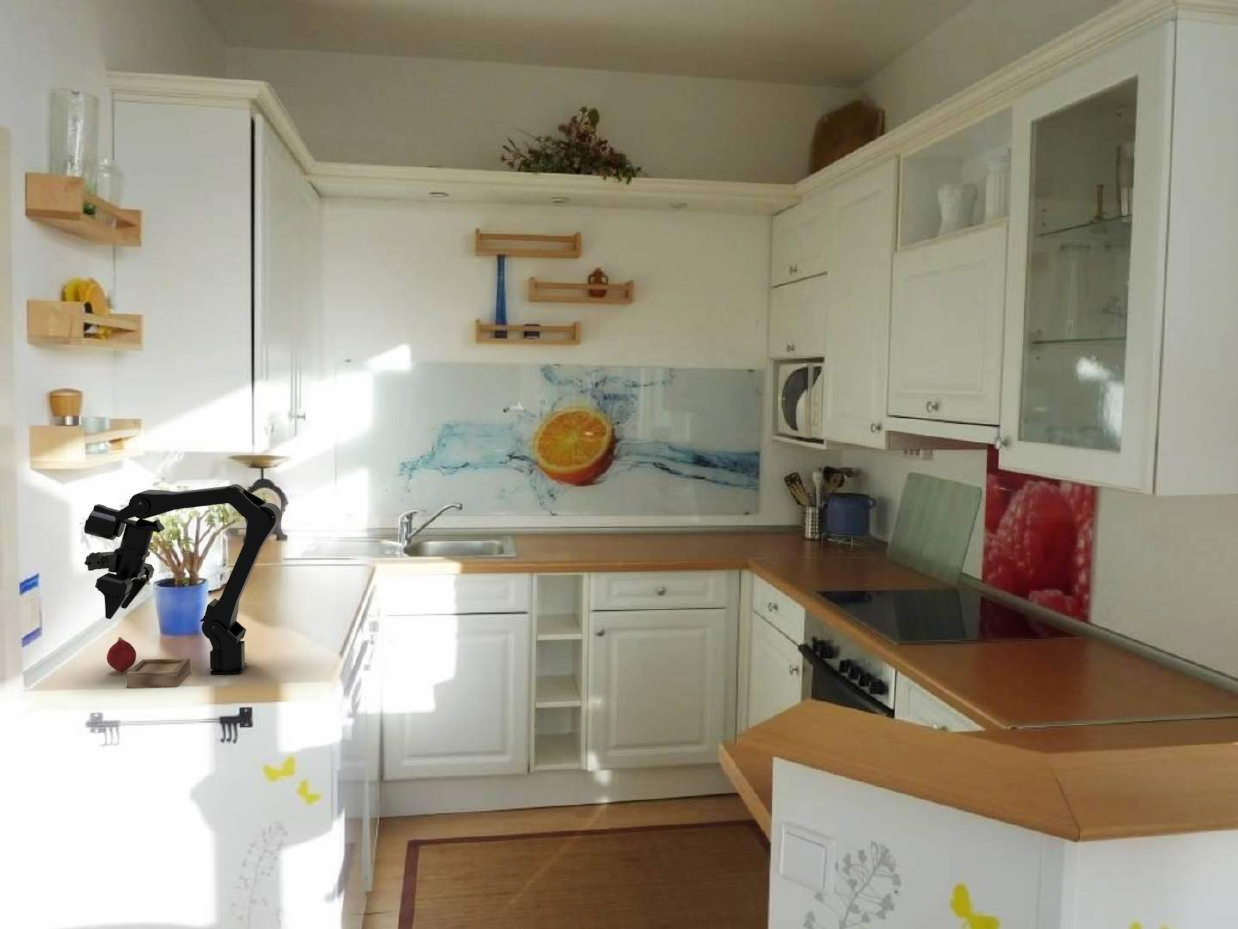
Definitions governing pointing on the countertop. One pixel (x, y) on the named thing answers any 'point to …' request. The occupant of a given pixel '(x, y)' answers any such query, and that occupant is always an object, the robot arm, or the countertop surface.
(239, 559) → the robot arm
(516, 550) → the countertop surface
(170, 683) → the brown wooden tray
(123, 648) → the onion
